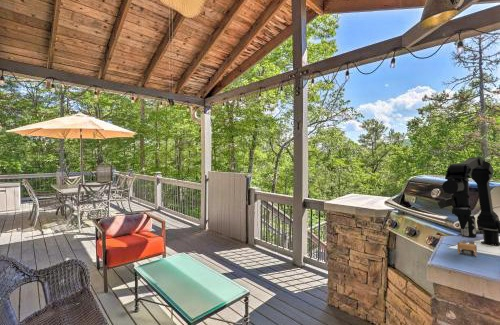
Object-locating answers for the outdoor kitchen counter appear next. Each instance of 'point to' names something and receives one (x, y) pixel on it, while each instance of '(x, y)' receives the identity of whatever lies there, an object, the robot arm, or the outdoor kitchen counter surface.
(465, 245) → the orange u-shaped block
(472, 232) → the beverage can
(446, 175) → the robot arm
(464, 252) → the arm
